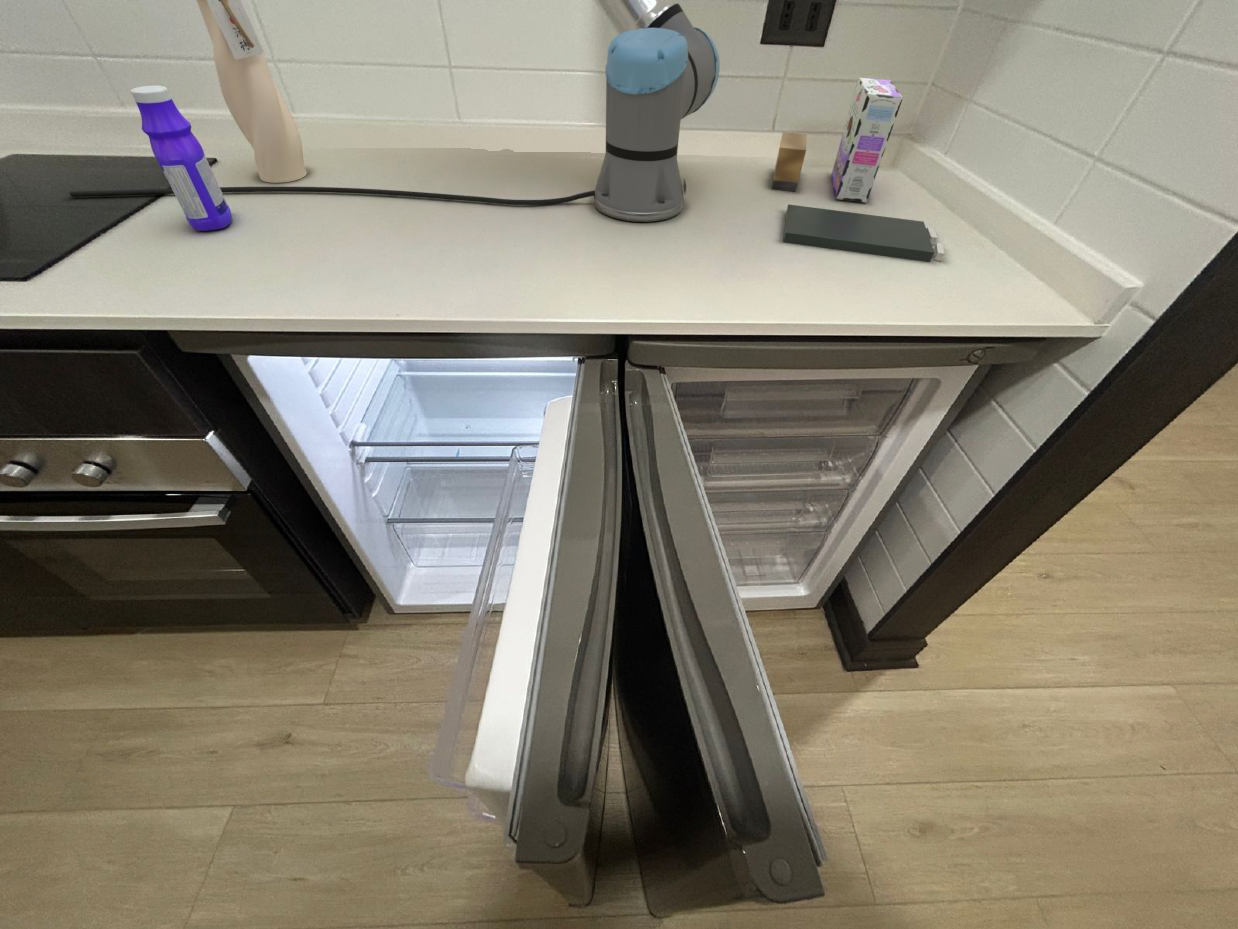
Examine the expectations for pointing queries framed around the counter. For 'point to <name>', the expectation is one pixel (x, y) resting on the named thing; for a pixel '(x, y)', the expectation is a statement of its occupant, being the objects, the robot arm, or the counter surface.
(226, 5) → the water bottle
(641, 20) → the robot arm
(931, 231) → the chalk
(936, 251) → the chalk
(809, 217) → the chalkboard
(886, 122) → the candy box
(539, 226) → the counter surface
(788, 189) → the eraser
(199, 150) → the bottle
